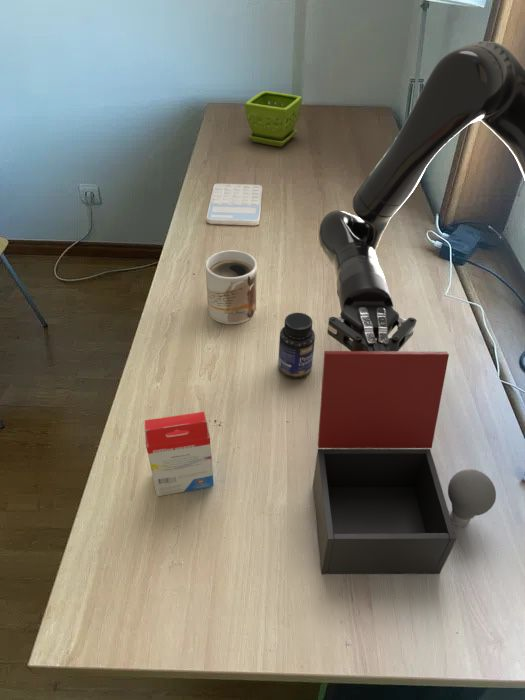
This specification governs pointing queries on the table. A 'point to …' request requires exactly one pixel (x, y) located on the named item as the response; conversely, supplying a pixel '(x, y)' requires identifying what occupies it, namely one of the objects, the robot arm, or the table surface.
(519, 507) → the table surface
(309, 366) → the pill bottle
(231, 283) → the mug
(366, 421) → the lid
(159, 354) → the table surface
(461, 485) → the light bulb
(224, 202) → the calculator
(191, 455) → the ink box
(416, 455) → the gray open box
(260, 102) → the flower pot
